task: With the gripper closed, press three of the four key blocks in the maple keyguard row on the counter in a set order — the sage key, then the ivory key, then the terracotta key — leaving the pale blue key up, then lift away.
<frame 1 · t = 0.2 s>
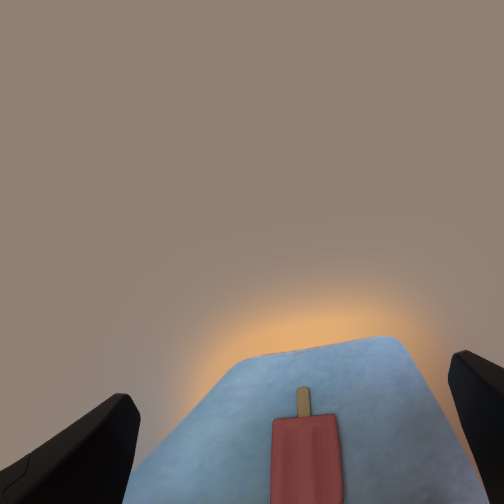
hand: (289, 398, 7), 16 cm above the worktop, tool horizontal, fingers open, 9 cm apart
popsicle: (305, 456, 21), on the worktop
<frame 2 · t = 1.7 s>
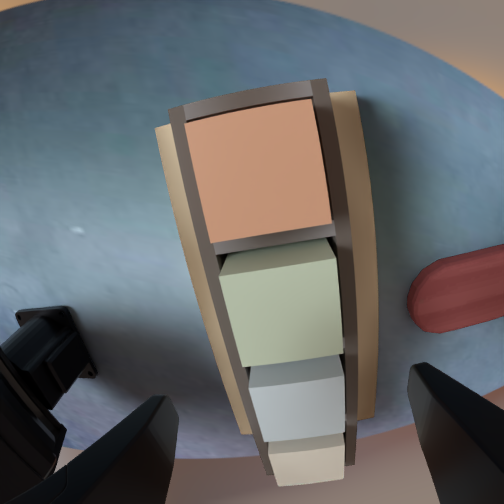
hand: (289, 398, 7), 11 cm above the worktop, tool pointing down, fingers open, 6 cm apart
keyguard board: (289, 294, 19), on the worktop
sage key: (284, 299, 13), point 6 cm above the worktop, slide at 0.0 cm
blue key: (299, 391, 14), point 6 cm above the worktop, slide at 0.0 cm
ivory key: (307, 449, 16), point 6 cm above the worktop, slide at 0.0 cm
terracotta key: (261, 168, 11), point 6 cm above the worktop, slide at 0.0 cm
popsicle: (490, 276, 18), on the worktop
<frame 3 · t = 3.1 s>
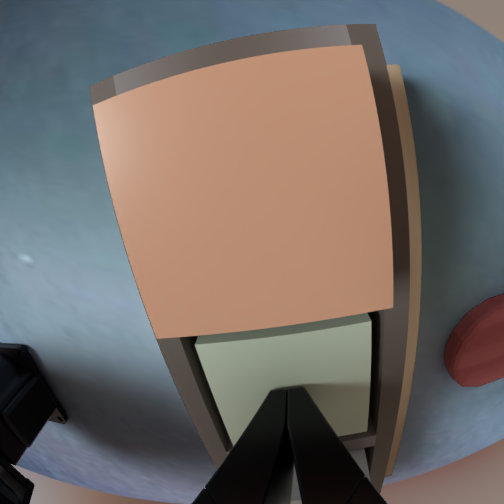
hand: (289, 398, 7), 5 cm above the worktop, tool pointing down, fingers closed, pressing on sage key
keyguard board: (296, 350, 13), on the worktop
sage key: (291, 362, 9), point 4 cm above the worktop, slide at 1.5 cm, touching gripper
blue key: (307, 487, 9), point 6 cm above the worktop, slide at 0.0 cm
terracotta key: (254, 188, 6), point 6 cm above the worktop, slide at 0.0 cm
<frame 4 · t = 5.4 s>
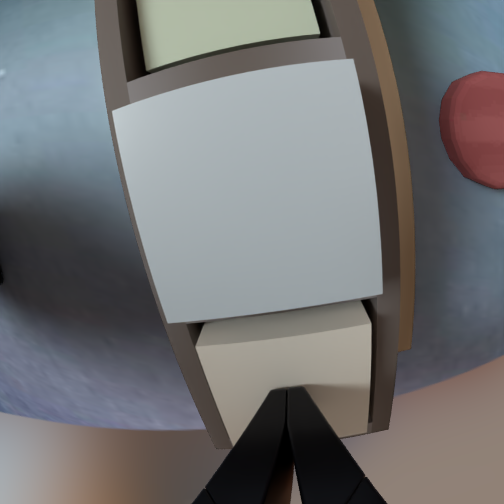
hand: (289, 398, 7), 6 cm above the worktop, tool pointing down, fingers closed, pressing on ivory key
keyguard board: (252, 100, 11), on the worktop
sage key: (225, 3, 7), point 3 cm above the worktop, slide at 2.0 cm
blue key: (256, 187, 6), point 5 cm above the worktop, slide at 0.0 cm
ivory key: (291, 363, 9), point 5 cm above the worktop, slide at 0.9 cm, touching gripper
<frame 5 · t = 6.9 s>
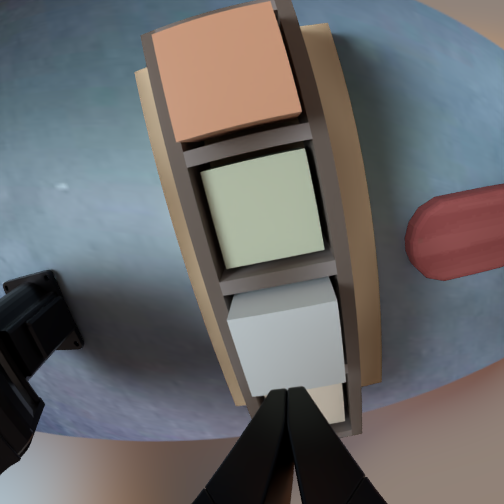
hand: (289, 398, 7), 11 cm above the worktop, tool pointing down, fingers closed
keyguard board: (277, 237, 17), on the worktop
sage key: (265, 203, 13), point 3 cm above the worktop, slide at 2.0 cm
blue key: (290, 333, 13), point 5 cm above the worktop, slide at 0.0 cm
ivory key: (304, 386, 17), point 3 cm above the worktop, slide at 2.0 cm
terracotta key: (229, 76, 10), point 5 cm above the worktop, slide at 0.0 cm
popsicle: (494, 221, 17), on the worktop
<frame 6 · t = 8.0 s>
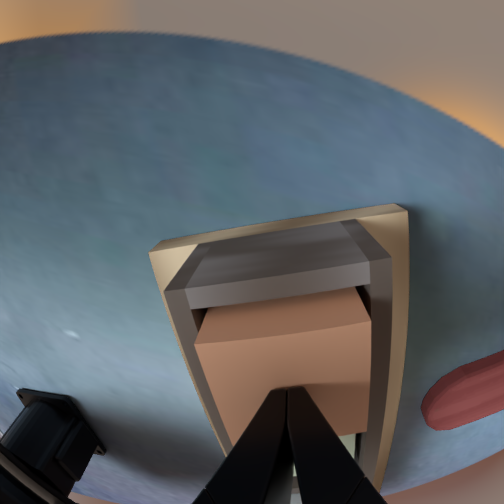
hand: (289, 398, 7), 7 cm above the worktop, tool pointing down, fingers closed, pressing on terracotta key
keyguard board: (305, 408, 16), on the worktop
sage key: (303, 425, 12), point 3 cm above the worktop, slide at 2.0 cm
terracotta key: (290, 362, 9), point 5 cm above the worktop, slide at 0.3 cm, touching gripper
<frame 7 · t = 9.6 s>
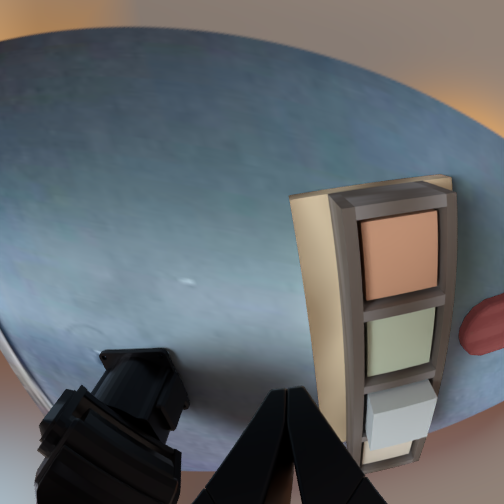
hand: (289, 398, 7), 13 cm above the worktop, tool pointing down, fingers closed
keyguard board: (379, 332, 21), on the worktop
sage key: (393, 329, 17), point 3 cm above the worktop, slide at 2.0 cm
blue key: (397, 410, 17), point 5 cm above the worktop, slide at 0.0 cm
ivory key: (384, 432, 20), point 3 cm above the worktop, slide at 2.0 cm
terracotta key: (393, 246, 15), point 3 cm above the worktop, slide at 2.0 cm
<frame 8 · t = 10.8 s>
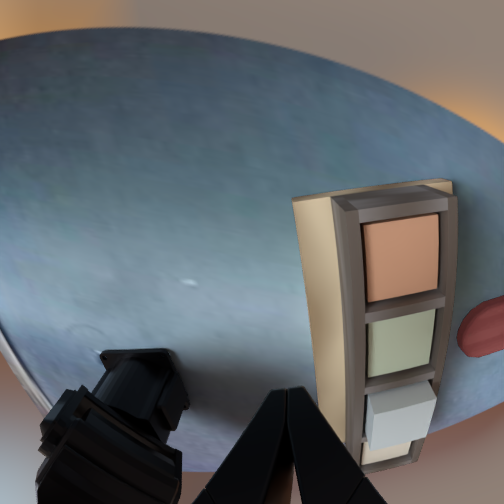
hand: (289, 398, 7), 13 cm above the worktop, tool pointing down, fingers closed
keyguard board: (378, 334, 21), on the worktop
sage key: (394, 330, 17), point 3 cm above the worktop, slide at 2.0 cm
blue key: (396, 410, 17), point 5 cm above the worktop, slide at 0.0 cm
ivory key: (383, 433, 21), point 3 cm above the worktop, slide at 2.0 cm
terracotta key: (394, 249, 16), point 3 cm above the worktop, slide at 2.0 cm
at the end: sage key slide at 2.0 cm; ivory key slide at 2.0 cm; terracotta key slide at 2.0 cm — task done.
